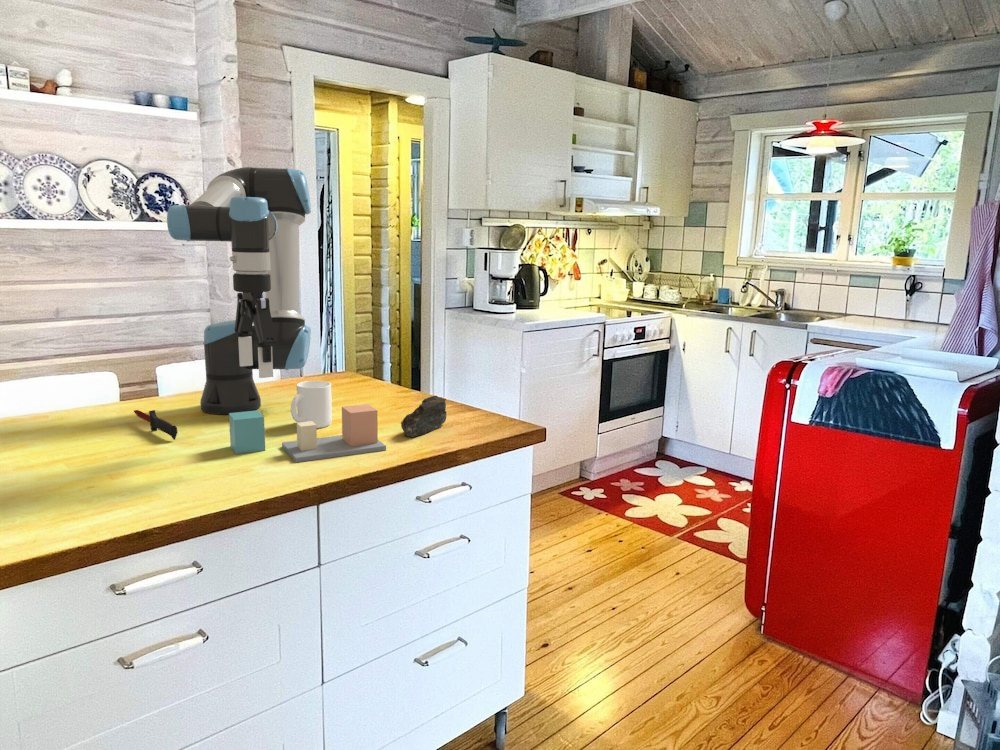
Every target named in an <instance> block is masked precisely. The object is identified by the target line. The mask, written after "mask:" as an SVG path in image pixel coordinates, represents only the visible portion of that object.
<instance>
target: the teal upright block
mask: <svg viewBox="0 0 1000 750" xmlns="http://www.w3.org/2000/svg"><path fill="white" fill-rule="evenodd" d="M228 421H229V425H228V426H229V439H230V441H229V442H230V447H231V449H232V451H233V452H234V453H235V455H238V454H239V455H240V454H248V453H254V452H255V453H256V452H262V451H266V436H265V433H266V432H265V430H266V429H265V417H264V415H263V414H262V413H261V412H260V411H259V410H258V409H256V410H253V411H246V412H236V413H229V414H228Z"/></svg>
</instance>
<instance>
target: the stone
mask: <svg viewBox="0 0 1000 750" xmlns="http://www.w3.org/2000/svg"><path fill="white" fill-rule="evenodd" d="M446 400H447V399H446V398H444V397H439V396H438V395H432V396H429V397H427V398H424V399H423V400H422V401H421V404H419V405H418V407H417V408H415V409H414V411H412V412H411V413H408V414H406V416H405V417H404V418H403V419H402V420H401V422H400V424H401V429H402V430H403V432H404V433H403V435H404V436H405V437H408V438H410V437H411V438H415V437H417V436H423V435H426V434H427V433H429V432H434V431H436V430H439V429H441V428H442V425H443V424H444V423H445V422H446V421H447V410H446V407H447V404H446Z"/></svg>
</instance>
